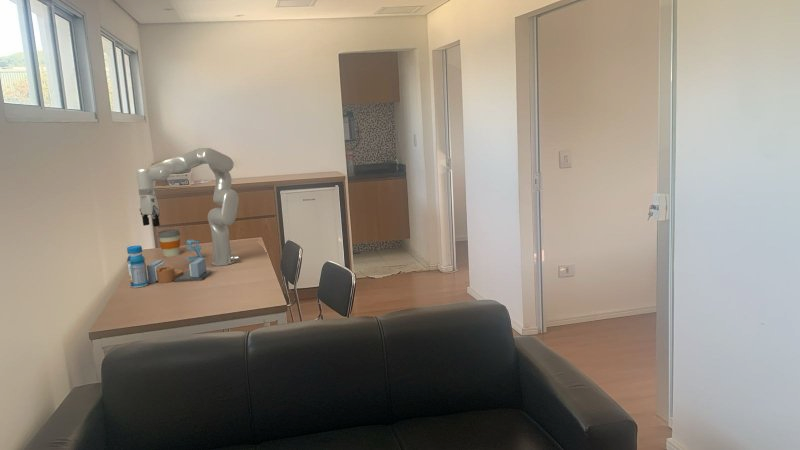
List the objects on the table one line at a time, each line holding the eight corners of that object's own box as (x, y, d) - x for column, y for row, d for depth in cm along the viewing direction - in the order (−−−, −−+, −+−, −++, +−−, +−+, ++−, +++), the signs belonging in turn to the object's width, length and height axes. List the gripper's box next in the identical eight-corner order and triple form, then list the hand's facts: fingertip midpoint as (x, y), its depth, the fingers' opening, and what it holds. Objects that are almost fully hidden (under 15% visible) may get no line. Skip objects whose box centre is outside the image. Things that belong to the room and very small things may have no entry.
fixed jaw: (166, 276, 327) (164, 259, 326) (157, 282, 314) (155, 265, 313) (158, 276, 327) (156, 260, 326) (148, 283, 314) (146, 265, 313)
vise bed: (211, 272, 328) (210, 270, 328) (201, 280, 313) (201, 277, 312) (185, 274, 329) (185, 271, 328) (174, 282, 313) (174, 279, 313)
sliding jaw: (206, 270, 327) (205, 257, 326) (198, 276, 314) (197, 263, 313) (198, 271, 327) (196, 258, 326) (190, 277, 314) (188, 263, 313)
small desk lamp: (203, 258, 367) (201, 239, 365) (189, 261, 363) (187, 241, 361) (200, 257, 374) (197, 237, 372) (186, 259, 369) (183, 239, 367)
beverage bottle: (140, 288, 304) (134, 248, 301) (126, 287, 307) (121, 248, 304) (152, 283, 312) (147, 245, 309) (139, 283, 315) (133, 244, 312)
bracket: (171, 283, 311) (169, 270, 310) (155, 284, 312) (153, 270, 311) (186, 274, 329) (184, 261, 328) (171, 275, 330) (169, 262, 329)
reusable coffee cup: (174, 252, 394) (171, 229, 391) (186, 253, 386) (183, 230, 384) (156, 256, 384) (153, 232, 381) (168, 258, 376) (165, 233, 374)
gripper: (162, 191, 311) (167, 225, 314) (144, 191, 322) (149, 223, 325) (149, 193, 306) (153, 227, 309) (131, 193, 317) (135, 226, 319)
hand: (151, 225), depth 317 cm, fingers open, 9 cm apart
